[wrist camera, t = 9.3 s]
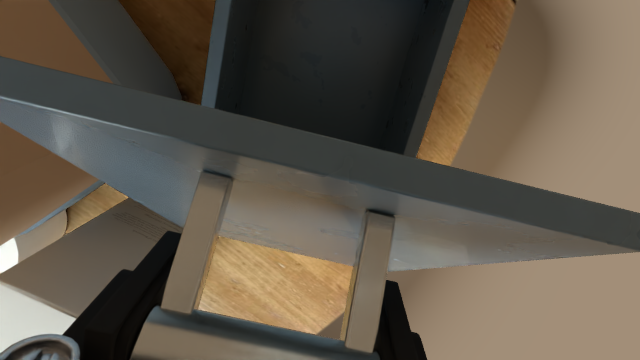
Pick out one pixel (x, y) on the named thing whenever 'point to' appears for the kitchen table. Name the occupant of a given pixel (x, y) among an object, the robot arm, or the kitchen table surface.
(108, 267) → the cosmetic box
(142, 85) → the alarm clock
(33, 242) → the white stepped holder
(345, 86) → the grey open box
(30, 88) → the lid
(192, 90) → the kitchen table surface
